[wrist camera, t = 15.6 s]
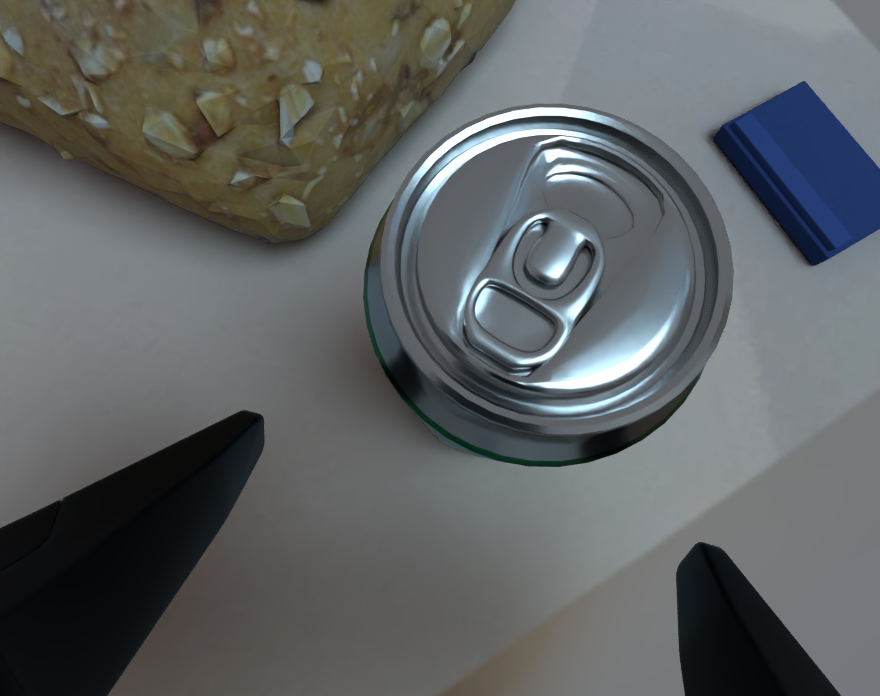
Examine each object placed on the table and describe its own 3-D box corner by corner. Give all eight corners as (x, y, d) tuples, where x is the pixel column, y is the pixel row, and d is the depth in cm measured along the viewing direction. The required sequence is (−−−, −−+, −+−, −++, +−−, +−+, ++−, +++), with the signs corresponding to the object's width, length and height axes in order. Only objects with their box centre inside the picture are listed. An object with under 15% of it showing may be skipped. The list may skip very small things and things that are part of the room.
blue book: (895, 218, 19) (922, 204, 18) (812, 266, 18) (835, 255, 17) (791, 94, 20) (810, 73, 19) (711, 137, 20) (726, 119, 18)
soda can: (578, 363, 18) (837, 193, 6) (507, 484, 17) (647, 564, 5) (460, 293, 18) (485, 15, 7) (387, 406, 17) (264, 319, 6)
